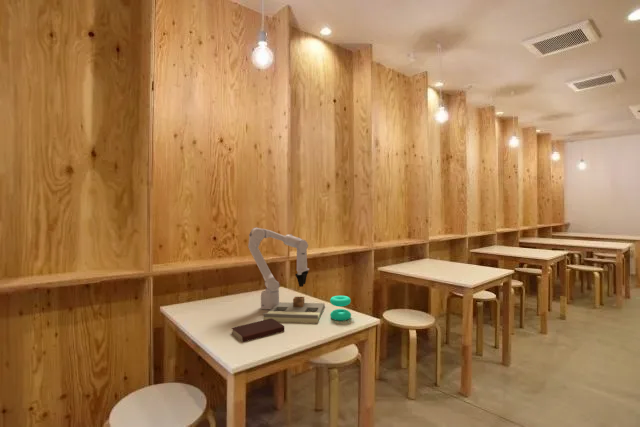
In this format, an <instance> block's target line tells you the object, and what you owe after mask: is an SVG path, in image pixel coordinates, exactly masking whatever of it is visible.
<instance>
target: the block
mask: <svg viewBox="0 0 640 427" xmlns="http://www.w3.org/2000/svg"><path fill="white" fill-rule="evenodd" d="M292 303H293V307H303V306H304V303H305V296H294V297H293V299H292Z"/></svg>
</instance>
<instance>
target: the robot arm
mask: <svg viewBox="0 0 640 427" xmlns="http://www.w3.org/2000/svg"><path fill="white" fill-rule="evenodd" d="M264 238H265V239H268V238H272V239H274V240H278V241H281V242H283V244H284V245H286V246H288V247H291V248H296V271H297V273H295V278H296V279H297V283H298V287H300V288H303V287H304V285H306V284H307V283H306V282H307V278H308V277H307V276H308V275H309V271H310V268H308V253H307V252H308V251H307V249H308V248H309V244H308V243H309V242H307V240H305V239H302V238H301V237H297V236H294V235H293V233H290V234H286V235H284V234H281V233H278V232H275V231H273V230H270V229H266V228H260V227H253V228H252V229H251V230H250V232H249V234H248V243H247V244H248V246H247V247H248V249H249V252H250V254H251V256H252V257H253V260H254V262H255V264H256V266H257V267H258V270H259V271H260V273H261V276H262V278H263V280H264V286H265V287H266V289H264V290H262V291H261V293H260V310H271V309H272V308H273V307H274V305H278V304H279V302H280V282H279V281H278V280H277V279H276V278H275V277H274V275H273V273H272V271H271V270H270V267H269V266H268V264H267V262H266V260H265V258H264V256H263V254H262V252H261V250H260V248H259V247H260V244H261V242H262V241H263V240H264Z"/></svg>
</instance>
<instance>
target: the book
mask: <svg viewBox="0 0 640 427" xmlns="http://www.w3.org/2000/svg"><path fill="white" fill-rule="evenodd" d="M231 330H232V331H231V333H232V334H231V335H233V334H234V335H233V336H235V337H236V338H237V337H238V338H237V339H238V340H240V341H241V340H242V341H241V342H242V343H244V342H248V340H249V341H252V339H253V340H256V338H257V339H259V338H265V337H268V336H271V335H275V334H279V333H283V332H285V325H284V324H282V322H277V321H276V320H274V319H272V318H271V319H266V320H263V319H262V320H259V321H256V322H255V321H254V322H251V323H247V324H242V325H238V326H234V327H232V328H231Z"/></svg>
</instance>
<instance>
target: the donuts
mask: <svg viewBox="0 0 640 427" xmlns="http://www.w3.org/2000/svg"><path fill="white" fill-rule="evenodd" d="M329 302H330V304H331V305H333V306H335V307H339V308H337V309H334V310H332V311H331V312H330V314H329V315H330V318H331V319H332V320H334V321H339V322H341V321H342V322H343V321H347V320H350V319H351V316H352V313H351V312H350V311H349V310H348V309H343V308H340V307H346V306H349V305H350V304H351V302H352V300H351V298H350V296H347V295H334V296H331V298H330V299H329Z"/></svg>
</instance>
